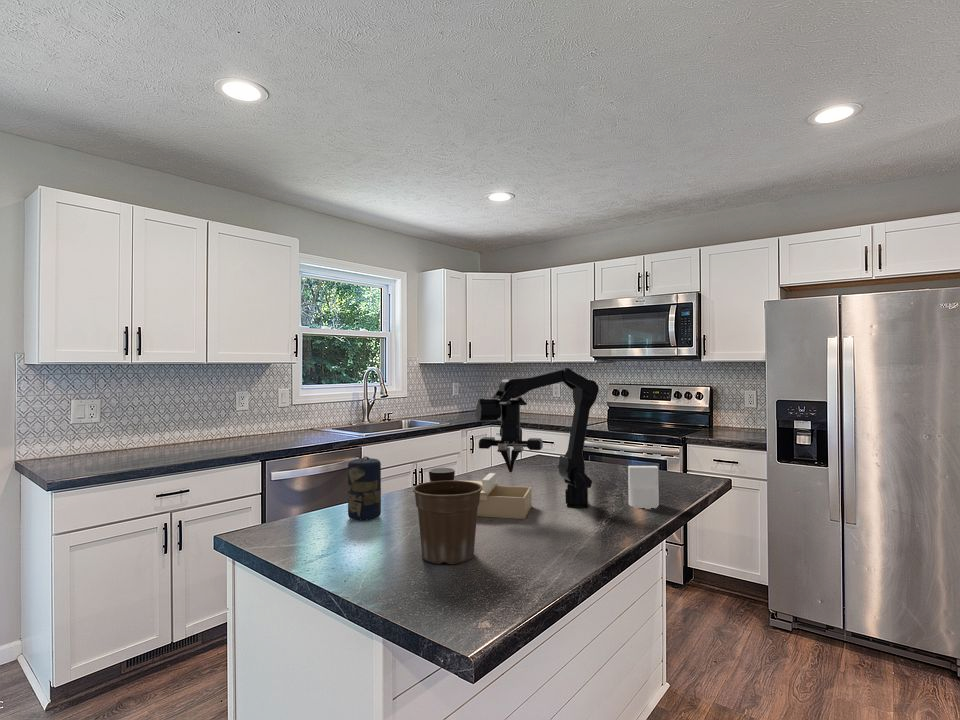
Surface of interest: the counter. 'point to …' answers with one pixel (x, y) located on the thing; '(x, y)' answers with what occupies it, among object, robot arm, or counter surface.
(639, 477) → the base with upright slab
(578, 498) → the robot arm
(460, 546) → the plant pot
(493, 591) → the counter surface
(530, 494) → the mailer box
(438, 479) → the coffee mug
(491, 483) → the lid
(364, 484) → the canister
